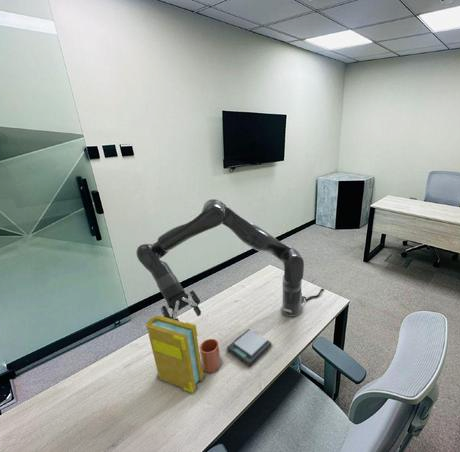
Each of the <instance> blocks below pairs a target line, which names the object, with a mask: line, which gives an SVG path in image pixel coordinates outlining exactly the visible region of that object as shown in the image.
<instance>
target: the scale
mask: <svg viewBox="0 0 460 452" xmlns="http://www.w3.org/2000/svg"><path fill="white" fill-rule="evenodd" d="M271 347H272V342H271V341H270V340H268V338H266V337H264V336H263V335H261V334H260V333H258V332H256V331H255V330H253V329H251V328H248V329H247V330H246V331H245V332H243V333H242V334H241V335H239V336H238V337H237V338H236V339H235V340H234V341H232V342H231V343H230V344H229V345H228V346H227V347H226V348H227V351H228V353H231V354H232V355H233V356H235V357H236V358H237V359H238V360H240V361H241V362H243V363H244V364H245V365H247V367H252V365H254V364H255V363H256V362H257V361H258V359H259V358H261V356H263V355H264V354H265V353H266V352H267V351H268V350H269V349H270V348H271Z"/></svg>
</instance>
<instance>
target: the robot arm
mask: <svg viewBox="0 0 460 452" xmlns="http://www.w3.org/2000/svg"><path fill="white" fill-rule="evenodd" d="M221 225H223V226H225V227H226V228H228V229H230V230H231V232H232V233H234V234H235V236H236V237H237V238H238V239H239V240H240V241H241V242H242V243H244V244H245V245H247V246H248V247H250V248H252V249H254V250H255V251H258V252H260V253H261V252H262V253H266V254H270V255H272V256H273V257H275V258H277V259H278V260H279V261H280V262H281V263H282V265H283V270H284V271H283V275H282V299H281V300H282V303H281V304H282V308H281V311H282V313H283V315H285V316H287V317H291V318H293V317H297V316H299V315H300V314H301V311H302V305H303V303H304V302H305V301H309V300H310V299H313V298H318V297H319V296H320V295H321V294H322V291H325V289H324V288H321V289H320V290H319V293H318V294H316V295H311V296H309V297H308V298H307V297H306V296H304V295H303V292H302V285H303V284H302V282H303V279H304V271H305V270H304V269H305V262H304V259H303V257H302V255H301V254H300V252H299V251H298V250H297V249H296V248H294V247H291V246H290V245H287V244H286V243H283V242H282V241H280V240H279V239H277V238H276V237H274V236H273V235H271V234H270V233H269V232H267V231H266V230H264V229H262V228H261V227H259V226H258V225H256V224H254V223H253V222H251V221H250V220H248V219H246V218H244V217H242V216H241V215H239V214H238V213H237V212H235V211H234V210H233V209H231V208H230V207H229V206H228V205H227V204H225V203H224V202H222V201H221V200H218V199H215V198H214V199H208V200H206V201H205V203H204V204H203V207H202V210H201V212H200V213H199V214H198V215H197V216H196V217H194V218H193V219H192V220H190V221H188V222H186V223H183V224H179V225H177V226H175V227H172V228H171V229H169V230H167V231H166V232H165V233H163V234H161V235H160V236H159V237H158V239H157V241H156V242H154V243H143V244H141V245H139V246H138V247H137V249H136V253H135V254H136V258H137V259H138V262H140V263H141V265H142V266H143V267H144V268H145V269H146V270H147V271H148V272H150V274H151V276H152V278H153V279H154V281H155V283H156V285H157V286H156V287H157V288H158V290H159V292H160V293H161V294H162V296H163V298H164V299H165V302H166V305H162V306H161V308H160V312H161V313H162V316H163V317H166V318H170V319H173V320H177V321H180V320H179V318H178V317H177V315H178V311H181V310H182V309H184V308H186V307H189V308H192V309H193V311H194V313H195V315H196V316H197V317H200V316H201V315H202V311H201V309H200V307H199V304H200V303H201V299H200V298H199V297H198V295H197V293H195V291H194V290H191V291H190V292H188V293H186V291H185V289H184V287H183V286H182V284H181V282H180V281H179V280H178V278H177V276H176V274H174V272H173V271H172V269H171V267H170V266H169V264H168V263H167V262H166V261H164V260H161V258H163V257H165V256H166V255H167V254H168V253H169V252H170V251H172V250H173V249H175V248H176V247H178V246H180V245H181V244H183V243H184V242H186V241H188V240H190V239H191V238H194V237H196V236H198V235H200V234H202V233H205V232H207V231H209V230H212V229H214V228H217V227H219V226H221ZM189 298H191V299H192V300H191V299H189ZM169 309H171V314H170V313H169Z"/></svg>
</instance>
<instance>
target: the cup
mask: <svg viewBox="0 0 460 452" xmlns="http://www.w3.org/2000/svg"><path fill="white" fill-rule="evenodd" d="M220 352H221V351H220V343H219V341H218V340H217V339H215V338H207V339H205V340H204V341H202V342H201V344H200V345H199V354H200V360H201V367H202V368H203V372H206V373H213V372H216V371H217V370H218V369H219V368H220V367H221V360H222V359H221V353H220Z"/></svg>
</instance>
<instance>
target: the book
mask: <svg viewBox="0 0 460 452" xmlns="http://www.w3.org/2000/svg"><path fill="white" fill-rule="evenodd" d="M145 326H146V330H147V334H148V338H149V342H150V346H151V350H152V355H153V358H154V362H155V366H156V370H157V375H158V378H159V380H161V381H163V382H166V383H169V384H171V385H174V386H177V387H180V388H182V390H183V391H186V392H189V393H191V394H193V393H194V392H195V390H196V389H197V386H196V385H197V383H198V382H202V381H203V379H204V378H205V375H204V369H203V366H202V359H201V353H200V347H199V342H198V337H199V336H198V329H197V324H195V323H191V322H188V321H186V322H184V321H180V320H179V321H177V320H173V319H170V318H166V317H164V315H154V316H152V317H150V318H149V319H148V320H147V321H146V323H145Z"/></svg>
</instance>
